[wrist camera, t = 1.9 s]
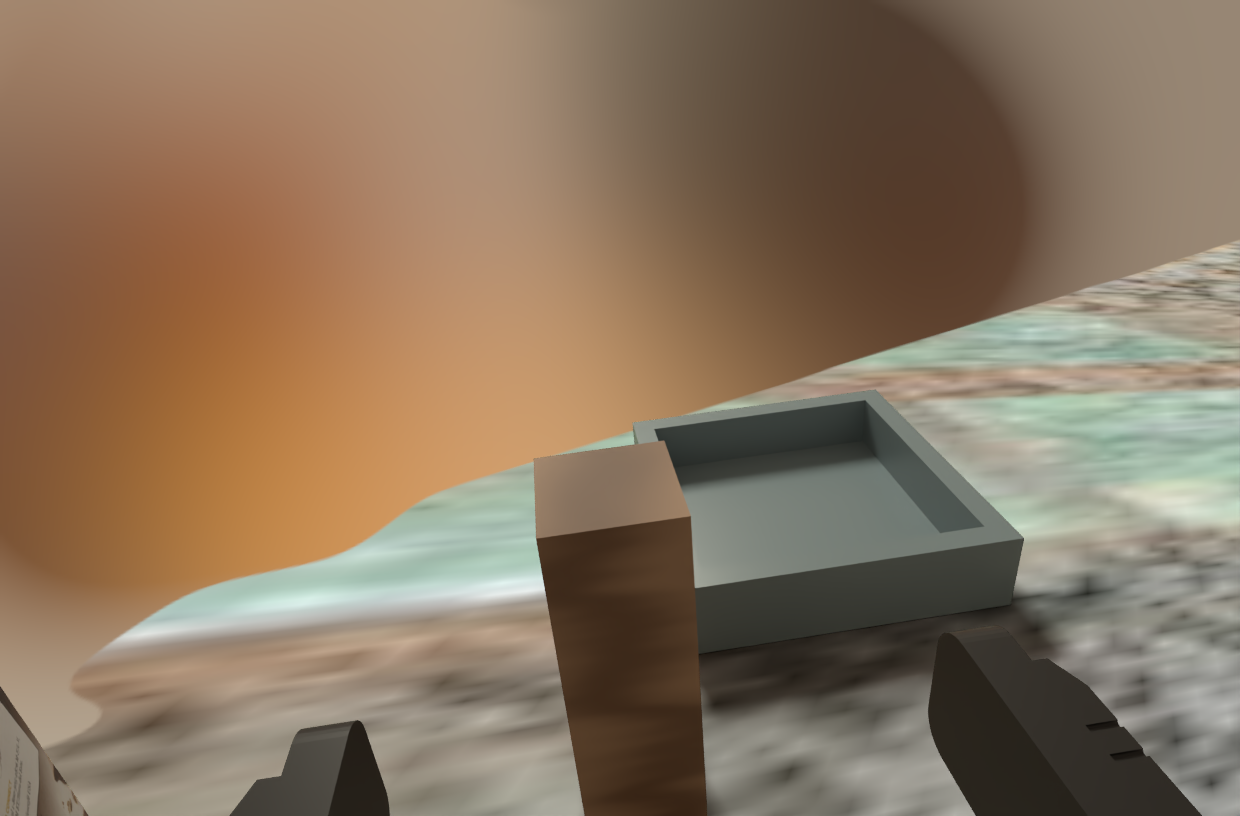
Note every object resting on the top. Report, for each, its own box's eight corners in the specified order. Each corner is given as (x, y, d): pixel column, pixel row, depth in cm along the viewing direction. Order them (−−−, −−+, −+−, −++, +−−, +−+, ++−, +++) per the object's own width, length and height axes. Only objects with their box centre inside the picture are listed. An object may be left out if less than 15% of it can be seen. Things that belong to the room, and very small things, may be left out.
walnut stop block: (684, 726, 31) (664, 440, 25) (707, 824, 27) (690, 515, 21) (581, 743, 31) (533, 458, 25) (589, 845, 27) (536, 538, 21)
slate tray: (871, 442, 50) (875, 389, 48) (1010, 604, 36) (1024, 538, 34) (637, 475, 49) (632, 422, 47) (685, 655, 35) (680, 590, 33)
